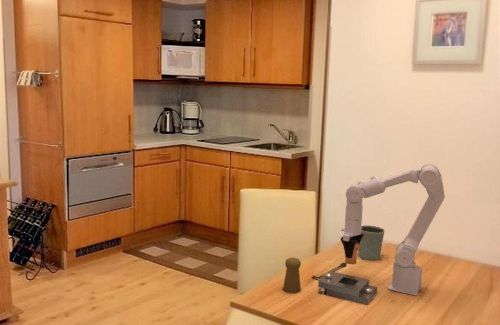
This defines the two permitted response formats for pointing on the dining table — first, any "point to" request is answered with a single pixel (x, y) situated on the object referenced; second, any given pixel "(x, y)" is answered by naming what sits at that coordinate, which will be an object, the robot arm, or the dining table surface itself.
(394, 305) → the dining table surface
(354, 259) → the pin
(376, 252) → the green cup
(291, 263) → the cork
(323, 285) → the link upper
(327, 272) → the tomahawk
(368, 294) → the link lower
